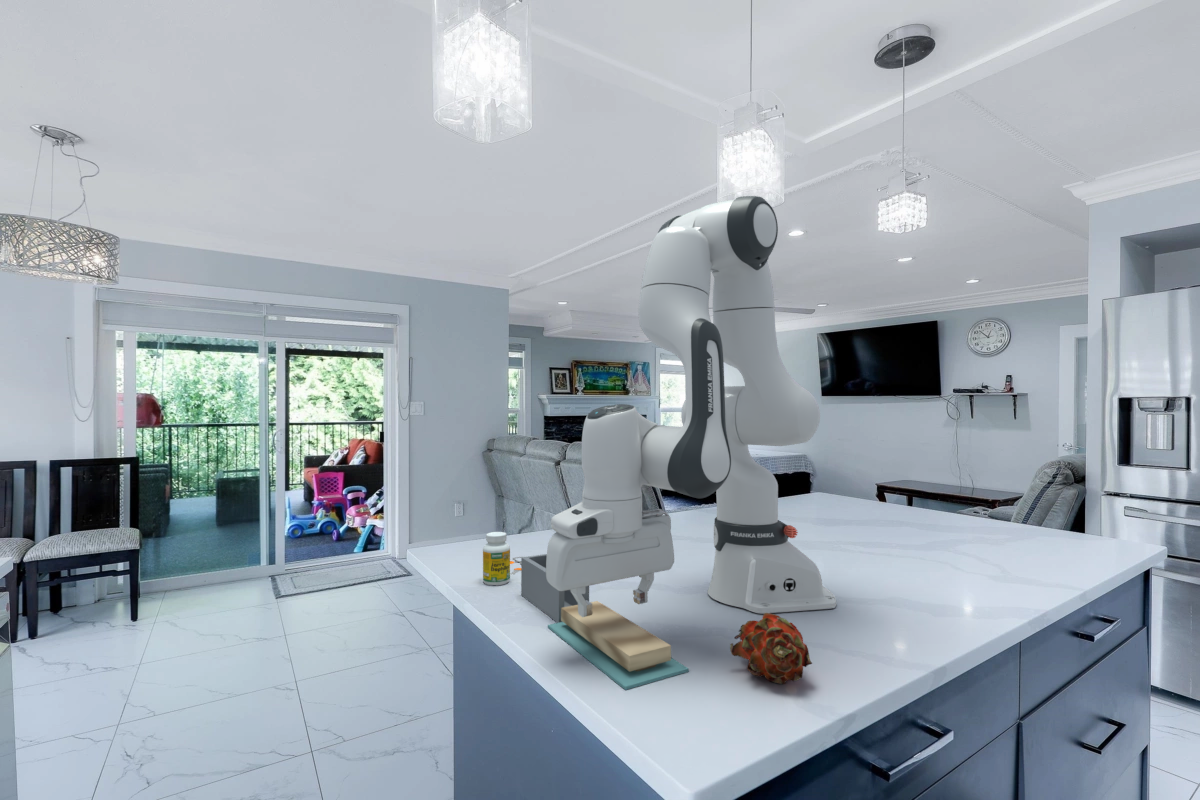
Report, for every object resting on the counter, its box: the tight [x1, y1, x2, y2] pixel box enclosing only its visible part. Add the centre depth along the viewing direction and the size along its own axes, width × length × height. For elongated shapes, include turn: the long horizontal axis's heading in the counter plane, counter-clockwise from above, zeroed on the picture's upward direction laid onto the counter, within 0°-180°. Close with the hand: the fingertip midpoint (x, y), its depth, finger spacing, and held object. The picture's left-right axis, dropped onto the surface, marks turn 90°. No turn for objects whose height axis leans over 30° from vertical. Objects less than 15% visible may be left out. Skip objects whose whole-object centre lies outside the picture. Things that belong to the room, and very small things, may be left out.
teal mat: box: [547, 622, 690, 691], centre depth 84 cm, size 23×10×1 cm, turn 30°
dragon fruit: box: [729, 613, 813, 685], centre depth 76 cm, size 8×8×12 cm
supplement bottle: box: [482, 531, 511, 586], centre depth 115 cm, size 5×5×10 cm
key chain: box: [510, 556, 522, 575], centre depth 127 cm, size 13×7×1 cm, turn 19°
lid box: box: [520, 553, 590, 623], centre depth 101 cm, size 16×6×7 cm, turn 30°
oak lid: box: [561, 600, 672, 672], centre depth 84 cm, size 20×7×3 cm, turn 30°
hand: (613, 608), depth 85 cm, fingers open, 8 cm apart
